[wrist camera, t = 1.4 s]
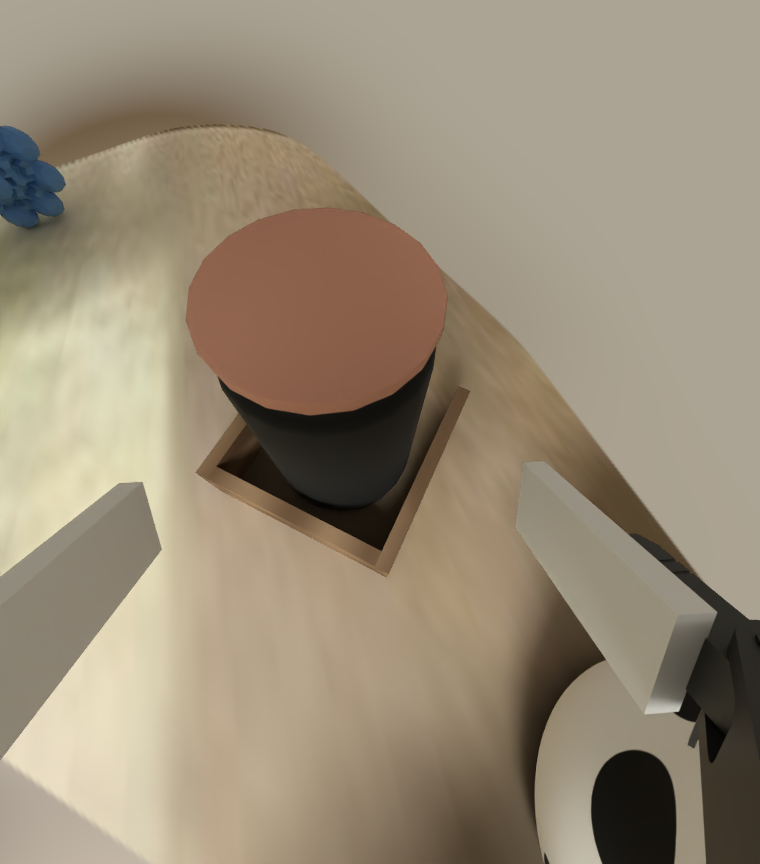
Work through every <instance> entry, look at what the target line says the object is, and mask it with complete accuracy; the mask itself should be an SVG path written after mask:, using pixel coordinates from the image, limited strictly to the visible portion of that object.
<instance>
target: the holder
mask: <svg viewBox="0 0 760 864" xmlns="http://www.w3.org/2000/svg"><path fill="white" fill-rule="evenodd" d="M469 393H470V391H469V390H466V389H464V388H462V387H459V386H458V388H457V390H456V392H455V395H454V397H453V399H452V401H451V403H450V405H449V407H448V410H447V412H446V414H445V416H444V418H443V420H442V423H441V425H440V427H439V429H438V431H437V433H436V435H435V438H434V440H433V442H432V444H431V446H430V448H429V451H428V453H427V455H426V457H425V459H424V461H423V463H422V466H421V468H420V470H419V472H418V474H417V476H416V479H415V481H414V483H413V485H412V487H411V489H410V491H409V494H408V496H407V498H406V500H405V502H404V504H403V507H402V509H401V511H400V513H399V515H398V517H397V520H396V522H395V524H394V526H393V528H392V530H391V532H390V535H389V537H388V539H387V541H386V543H385V545H384V548H383V550H382V551H380V550H378V549H376V548H374V547H372V546H370V545H368V544H366V543H365V542H363V541H361V540H359V539H357V538H355V537H353V536H351V535H349V534H347V533H345V532H343V531H341V530H339V529H337V528H335V527H333V526H331V525H329V524H327V523H326V522H324V521H322V520H320V519H318V518H316V517H314V516H312V515H310V514H308V513H306V512H304V511H302V510H300V509H298V508H296V507H294V506H292V505H290V504H288V503H286V502H285V501H283V500H281V499H279V498H277V497H275V496H273V495H271V494H269V493H267V492H265V491H263V490H261V489H259V488H257V487H255V486H253V485H251V484H249V483H247V482H245V481H244V480H242V479H241V478H242V476H243V475H244V473H245V472H246V470H247V469H248V467H249V466H250V464H251V463H252V461H253V460H254V459H255V457H256V456H257V454H258V453H259V451H260V450H261V448H262V445H261V444H260V442H259V441H258V439H257V438H256V437H255V435H254V434H253V432H252V431H251V430H250V428H249V427H248V425H247V424H246V422H245V421H244V420H243V418H242V417H241V415H240V414H238V415H237V417H236V418H235V420H234V421H233V422H232V424H231V425H230V426H229V428H228V429H227V430H226V432H225V433H224V434H223V436H222V437H221V439H220V440H219V441H218V443H217V444H216V445H215V447H214V448H213V449H212V451H211V452H210V453H209V455H208V456H207V458H206V459H205V460H204V462H203V463H202V464H201V466H200V467H199V468H198V470H197V471H196V472H195V473H197V474H198V475H200V476H201V477H202V478H204V479H205V480H207V481H208V482H209V483H211V484H212V485H214V486H215V487H216V488H218V489H219V490H221V491H223V492H225V493H227V494H229V495H230V496H232V497H234V498H236V499H238V500H240V501H242V502H244V503H246V504H248V505H250V506H251V507H253V508H255V509H257V510H259V511H261V512H263V513H265V514H267V515H269V516H271V517H272V518H274V519H276V520H278V521H280V522H282V523H284V524H286V525H288V526H290V527H292V528H293V529H295V530H297V531H299V532H301V533H303V534H305V535H307V536H309V537H311V538H313V539H315V540H316V541H318V542H320V543H322V544H324V545H326V546H328V547H330V548H332V549H334V550H336V551H337V552H339V553H341V554H343V555H345V556H347V557H349V558H351V559H353V560H355V561H357V562H358V563H360V564H362V565H364V566H366V567H368V568H370V569H372V570H374V571H376V572H378V573H379V574H381V575H383V576H385V577H386V576H387V575H388V574H389V572H390V570H391V568H392V566H393V563H394V561H395V559H396V557H397V554H398V552H399V550H400V548H401V545H402V543H403V541H404V539H405V536H406V534H407V532H408V530H409V527H410V525H411V523H412V521H413V518H414V516H415V514H416V512H417V509H418V507H419V505H420V503H421V500H422V498H423V496H424V494H425V491H426V489H427V487H428V485H429V482H430V480H431V478H432V476H433V473H434V471H435V469H436V467H437V464H438V462H439V460H440V458H441V455H442V453H443V451H444V449H445V447H446V444H447V442H448V440H449V438H450V435H451V433H452V431H453V429H454V426H455V424H456V422H457V420H458V417H459V415H460V413H461V411H462V408H463V406H464V404H465V402H466V399H467V397H468V395H469Z"/></svg>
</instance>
